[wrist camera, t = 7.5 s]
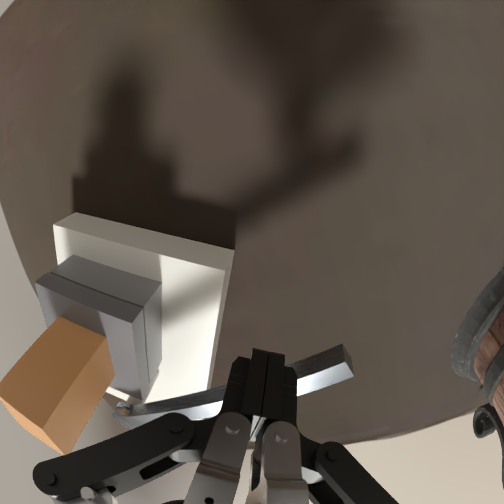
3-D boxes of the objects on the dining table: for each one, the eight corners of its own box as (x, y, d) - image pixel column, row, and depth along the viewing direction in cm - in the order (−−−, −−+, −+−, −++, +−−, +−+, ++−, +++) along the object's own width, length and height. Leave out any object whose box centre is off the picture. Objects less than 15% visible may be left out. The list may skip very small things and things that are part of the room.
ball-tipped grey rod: (337, 335, 12) (339, 353, 11) (355, 364, 13) (358, 382, 12) (113, 403, 18) (107, 413, 17) (134, 420, 19) (128, 430, 18)
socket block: (76, 212, 20) (12, 249, 13) (234, 250, 20) (204, 317, 13) (100, 367, 29) (72, 411, 22) (207, 405, 28) (190, 460, 21)
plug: (72, 253, 18) (-39, 349, 7) (162, 281, 18) (59, 431, 7) (85, 330, 22) (14, 424, 11) (162, 360, 21) (104, 481, 11)
